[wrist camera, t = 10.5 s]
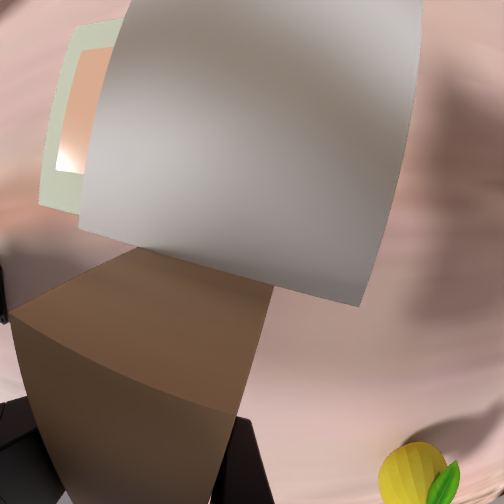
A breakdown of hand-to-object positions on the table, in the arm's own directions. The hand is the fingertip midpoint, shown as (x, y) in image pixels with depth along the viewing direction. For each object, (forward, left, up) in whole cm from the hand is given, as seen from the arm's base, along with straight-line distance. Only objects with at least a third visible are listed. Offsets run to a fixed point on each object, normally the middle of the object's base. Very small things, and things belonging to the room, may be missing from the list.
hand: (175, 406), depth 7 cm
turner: (+4, 0, -1) cm, 4 cm away
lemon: (-12, -16, -11) cm, 23 cm away
